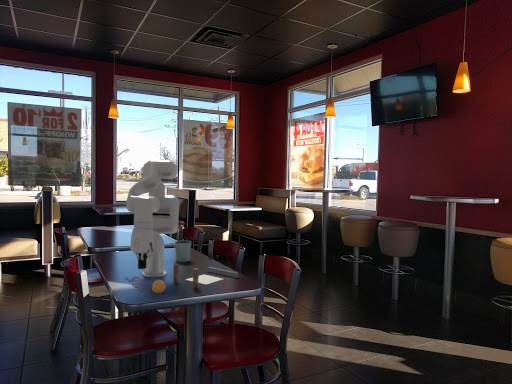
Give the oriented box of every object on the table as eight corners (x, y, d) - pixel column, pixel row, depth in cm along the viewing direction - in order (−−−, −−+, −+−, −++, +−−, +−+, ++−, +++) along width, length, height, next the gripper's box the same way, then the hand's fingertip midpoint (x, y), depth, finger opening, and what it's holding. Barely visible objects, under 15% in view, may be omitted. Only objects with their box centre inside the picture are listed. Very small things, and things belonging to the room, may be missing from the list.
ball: (148, 293, 173) (149, 280, 173) (159, 290, 178) (159, 277, 178) (158, 296, 170) (158, 282, 170) (168, 292, 175) (168, 279, 174)
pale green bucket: (192, 259, 248) (193, 240, 247) (188, 262, 238) (188, 243, 237) (177, 258, 249) (177, 240, 248) (172, 261, 239) (172, 242, 238)
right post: (191, 287, 184) (192, 269, 184) (195, 286, 186) (195, 268, 186) (195, 288, 182) (196, 269, 182) (199, 287, 185) (199, 268, 184)
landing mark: (185, 279, 198) (185, 279, 198) (203, 274, 209) (203, 274, 209) (206, 284, 190) (206, 284, 190) (223, 279, 201) (224, 278, 201)
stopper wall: (207, 271, 216) (207, 267, 216) (209, 271, 218) (209, 266, 217) (235, 277, 205) (235, 273, 205) (237, 277, 206) (237, 272, 206)
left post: (172, 282, 191) (172, 264, 191) (176, 281, 193) (176, 264, 193) (176, 283, 190) (176, 265, 190) (179, 282, 192) (180, 264, 192)
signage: (123, 277, 197) (142, 275, 203) (123, 279, 197) (142, 276, 203) (140, 291, 174) (161, 288, 180) (140, 293, 174) (161, 290, 180)
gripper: (124, 225, 166) (123, 267, 166) (147, 227, 158) (146, 272, 158) (138, 223, 172) (137, 264, 172) (161, 226, 164) (160, 269, 164)
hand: (142, 268), depth 165 cm, fingers closed
